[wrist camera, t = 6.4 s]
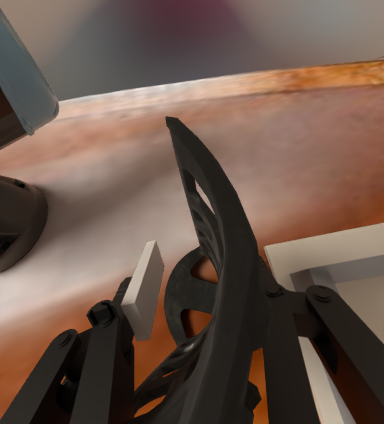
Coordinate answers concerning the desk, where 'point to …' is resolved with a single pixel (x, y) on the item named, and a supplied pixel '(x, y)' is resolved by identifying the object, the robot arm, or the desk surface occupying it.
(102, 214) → the desk surface
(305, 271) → the bay
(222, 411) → the holder
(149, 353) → the desk surface
